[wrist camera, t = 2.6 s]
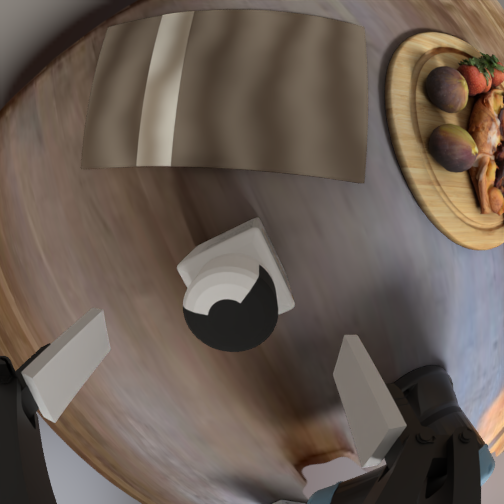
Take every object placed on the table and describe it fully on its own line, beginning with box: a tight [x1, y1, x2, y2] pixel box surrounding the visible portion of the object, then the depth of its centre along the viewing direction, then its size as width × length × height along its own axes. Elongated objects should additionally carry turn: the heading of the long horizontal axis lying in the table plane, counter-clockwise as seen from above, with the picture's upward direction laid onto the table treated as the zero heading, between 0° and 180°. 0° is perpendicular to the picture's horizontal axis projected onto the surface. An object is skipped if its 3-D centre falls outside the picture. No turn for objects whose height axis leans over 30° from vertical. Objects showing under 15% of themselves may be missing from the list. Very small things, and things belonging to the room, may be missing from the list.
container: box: [177, 217, 295, 352], centre depth 24 cm, size 8×8×13 cm
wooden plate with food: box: [385, 32, 504, 250], centre depth 21 cm, size 32×32×8 cm
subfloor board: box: [81, 10, 368, 183], centre depth 24 cm, size 32×20×2 cm, turn 86°
